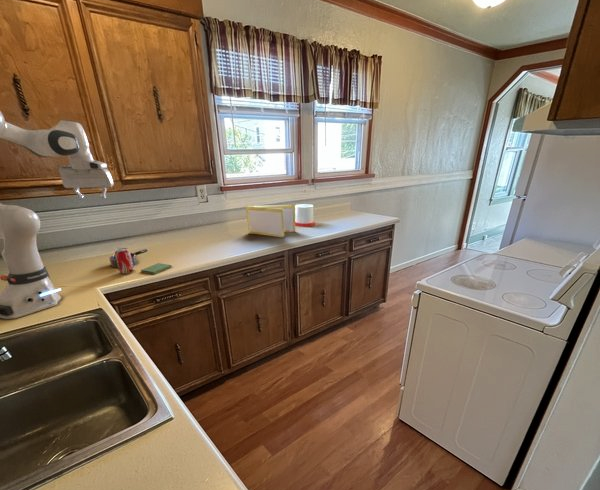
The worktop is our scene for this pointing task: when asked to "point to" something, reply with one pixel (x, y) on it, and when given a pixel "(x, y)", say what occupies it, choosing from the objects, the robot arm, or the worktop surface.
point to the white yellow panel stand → (271, 219)
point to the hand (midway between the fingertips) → (93, 198)
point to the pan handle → (141, 252)
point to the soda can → (124, 260)
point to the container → (304, 215)
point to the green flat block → (156, 268)
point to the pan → (114, 262)
